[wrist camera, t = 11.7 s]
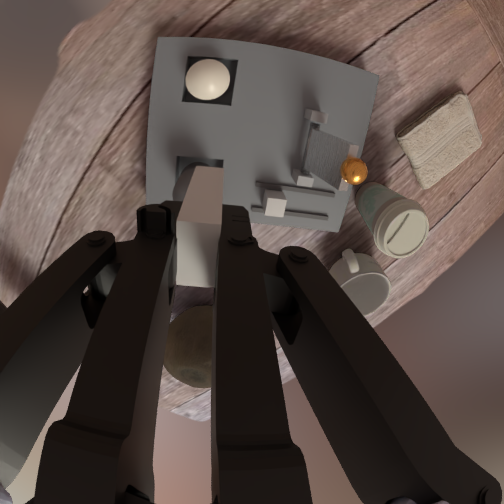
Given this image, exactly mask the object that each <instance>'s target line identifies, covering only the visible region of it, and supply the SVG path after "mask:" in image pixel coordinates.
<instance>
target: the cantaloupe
mask: <svg viewBox="0 0 504 504" xmlns="http://www.w3.org/2000/svg"><path fill="white" fill-rule="evenodd" d="M212 310H213V306H210V305H201V306H195V307H192V308H190V309H188V310H186V311H185V312H183V313H181V314H180V315H178V316H177V317H176V318H175V319H174V320H173V321H172V322H171V323H170V324H169V329H168V335H167V341H166V348H165V354H164V361H163V365H164V367H165V368H166V370H167V371H168V372H169V373H170V374H171V375H172V376H173V377H174V378H176V379H177V380H179V381H181V382H182V383H185V384H187V385H190V386H192V387H196V388H210V387H211V364H212V326H213V312H212Z"/></svg>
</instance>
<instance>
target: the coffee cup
mask: <svg viewBox="0 0 504 504" xmlns="http://www.w3.org/2000/svg"><path fill="white" fill-rule="evenodd" d="M355 204H356V207H357V209H358V210H359V212H360V214H361V216H362V217H363V219H364V221H365V222H366V224H367V226H368V227H369V229H370V231H371V233H372V234H373V236H374V241H375V244H376V246H377V247H378V248H379V250H381V251H382V252H383V253H385V254H386V255H389V256H391V257H394V258H405V257H408V256H410V255H412V254H413V253H415V252H416V251H417V250H418V249H419V248H420V247H421V246H422V245H423V243H424V241H425V240H426V237H427V235H428V231H429V222H428V219H427V216H426V214H425V211H424V209H423V208H422V207H421V205H420V204H419V203H418V202H416V201H414V200H411V199H407V198H405V197H404V196H402V195H400V194H398V193H396V192H395V191H393V190H391V189H389V188H387V187H385V186H383V185H381V184H379V183H377V182H368V183H366V184H364V185H363V186H362V187H361V188H360V189H359V190H358V192H357V194H356V197H355Z"/></svg>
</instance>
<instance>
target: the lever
mask: <svg viewBox="0 0 504 504" xmlns="http://www.w3.org/2000/svg"><path fill="white" fill-rule="evenodd" d="M320 125H321V124H318V123H314V122H311V123H310V128H309V133H308V138H307V142H306V147H305V152H304V156H303V161H302V166H301V170H300V172H302V173H304V174H310V172H311V173H313V174H314V175H316V176H317V177H319V178H320V179H322V180H323V181H325V182H327V183H328V184H330V185H331V186H333V187H334V188H336V189H337V190H339V191H347V189H348V186H349V184H351V185H358V184H361V183H362V182H363V181H364V180H365V179H366V177H367V173H368V170H367V166H366V164H365V163H364V162H363V161H362V160H361V159H359V158H356V156H357V152H358V149H359V146H358V145H356V144H353V143H351V142H349V141H346V140H344V139H341V138H339V137H337V136H334V135H332V134H329V133H326V132H324V131H321V130H319V129H320Z"/></svg>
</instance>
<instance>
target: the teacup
mask: <svg viewBox="0 0 504 504" xmlns="http://www.w3.org/2000/svg"><path fill="white" fill-rule="evenodd" d="M342 255H343V257H342V258H341V259H339V260H338V261H337V262H336V263H335V264H333V266H332V267H331V269H330V270H329V273H330V274H331V275H332V277H333V278H334V279H335V280H336V282H337V283H338V284H339V285H340V287H341V288H342V289H343V290H344V292H345V293H346V294H347V295H348V297H349V298H350V299H351V301H352V302H353V303H354V304H355V306H356V307H357V308H358V310H359V311H360V312H361V313H362V315H363V316H364V317H365V316H367V315H369V314H371V313H373V312H375V311H376V310H378V309H379V308H380V307H381V306H382V305H383V304H384V303H385V302H386V300H387V299H388V297H389V295H390V292H391V282H390V280H389V279H388V277H387V276H386V275H385V273H384V271H383V270H382V268H381V266H380V265H379V264H378V262H377V261H376V260H375V259H374V258H372V257H371V256H369V255H367V254H363V253H354V252H353V251H352V250H351V249H346V250H344V251H343V252H342Z"/></svg>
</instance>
